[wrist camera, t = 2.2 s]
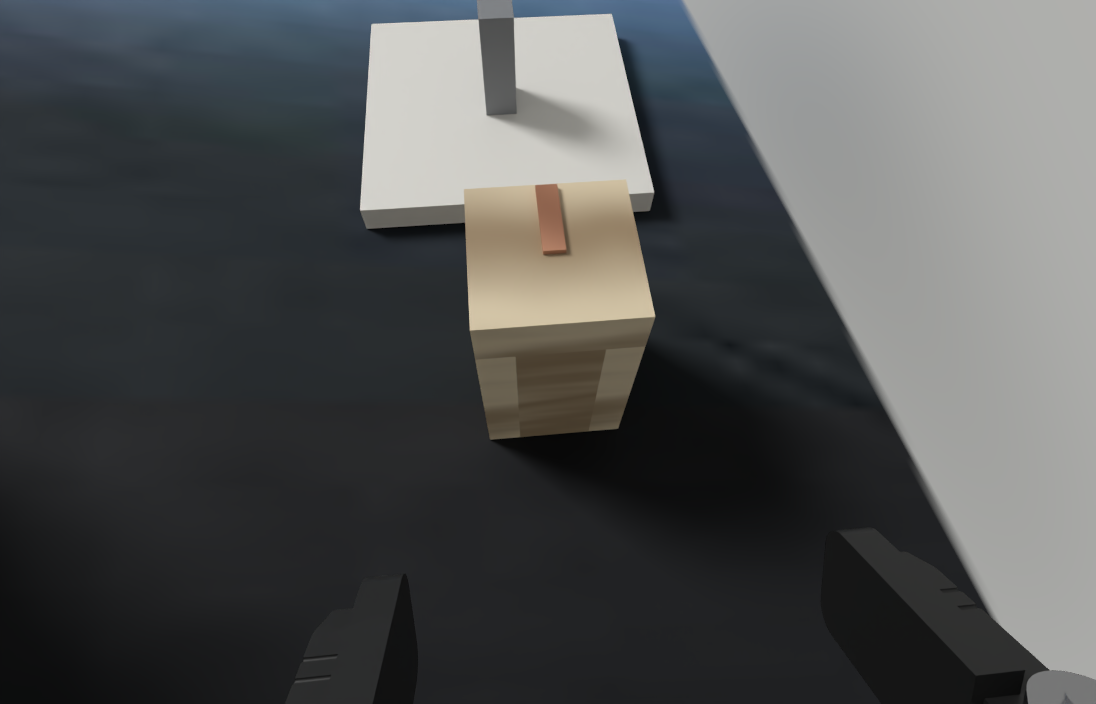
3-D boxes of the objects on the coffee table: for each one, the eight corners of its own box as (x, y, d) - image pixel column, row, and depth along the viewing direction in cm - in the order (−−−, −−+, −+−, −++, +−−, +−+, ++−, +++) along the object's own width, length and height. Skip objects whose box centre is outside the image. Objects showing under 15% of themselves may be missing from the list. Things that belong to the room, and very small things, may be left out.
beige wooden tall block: (618, 428, 29) (656, 313, 20) (490, 439, 28) (469, 327, 19) (600, 319, 31) (626, 175, 22) (483, 328, 31) (463, 185, 22)
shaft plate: (649, 210, 35) (676, 101, 28) (366, 228, 34) (326, 119, 27) (609, 34, 42) (623, -85, 36) (376, 45, 41) (346, -76, 35)
